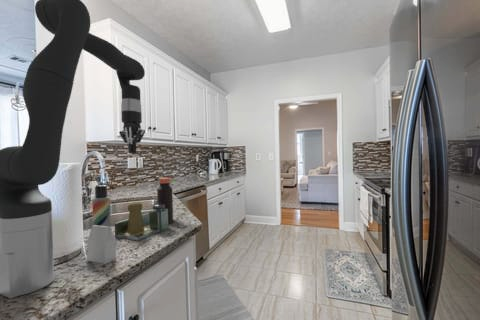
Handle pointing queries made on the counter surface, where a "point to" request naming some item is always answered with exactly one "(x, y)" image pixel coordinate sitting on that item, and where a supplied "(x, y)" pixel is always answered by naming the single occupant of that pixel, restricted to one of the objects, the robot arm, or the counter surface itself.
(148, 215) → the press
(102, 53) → the robot arm
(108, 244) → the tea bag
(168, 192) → the vinegar
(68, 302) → the counter surface
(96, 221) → the lotion bottle
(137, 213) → the cork
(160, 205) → the ram
